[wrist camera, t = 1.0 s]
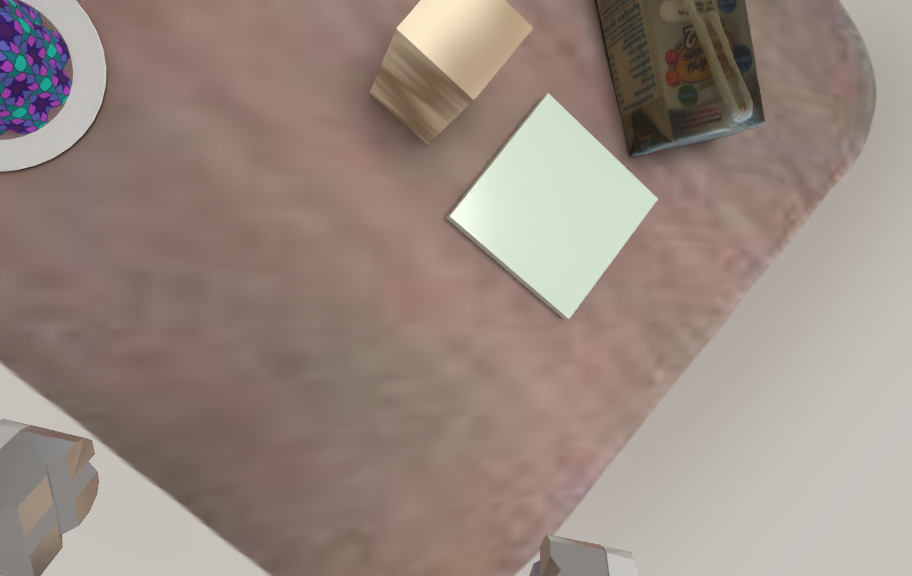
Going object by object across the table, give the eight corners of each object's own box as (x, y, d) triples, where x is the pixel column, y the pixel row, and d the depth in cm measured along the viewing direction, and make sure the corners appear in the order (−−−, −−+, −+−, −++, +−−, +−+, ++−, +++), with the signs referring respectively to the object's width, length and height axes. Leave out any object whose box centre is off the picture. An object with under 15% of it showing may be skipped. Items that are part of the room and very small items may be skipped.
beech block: (369, 93, 40) (396, 28, 30) (416, 37, 41) (459, -45, 30) (427, 144, 41) (473, 100, 31) (472, 89, 42) (533, 28, 32)
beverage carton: (622, 162, 45) (676, 144, 39) (566, -105, 44) (612, -169, 37) (714, 142, 47) (779, 121, 41) (663, -114, 46) (722, -177, 39)
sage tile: (445, 217, 42) (449, 216, 41) (541, 97, 43) (548, 93, 42) (561, 317, 44) (568, 319, 43) (648, 200, 46) (657, 198, 45)
